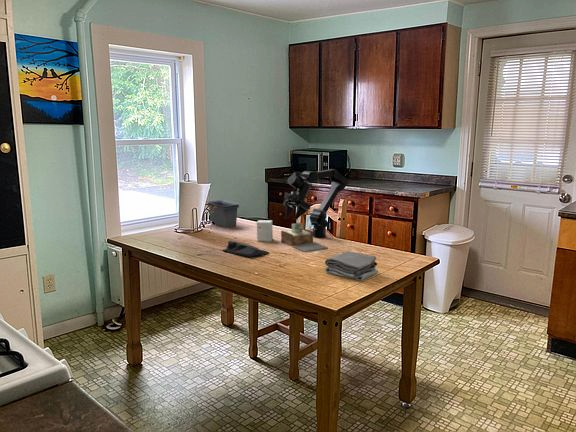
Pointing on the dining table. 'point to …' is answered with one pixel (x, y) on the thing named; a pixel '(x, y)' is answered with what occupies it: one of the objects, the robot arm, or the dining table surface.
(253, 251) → the crumpled dark cloth
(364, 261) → the towel
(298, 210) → the robot arm
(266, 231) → the small box
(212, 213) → the storage bin
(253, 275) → the dining table surface
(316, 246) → the rubber mat
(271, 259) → the dining table surface
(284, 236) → the walnut box
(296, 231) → the cover plate
